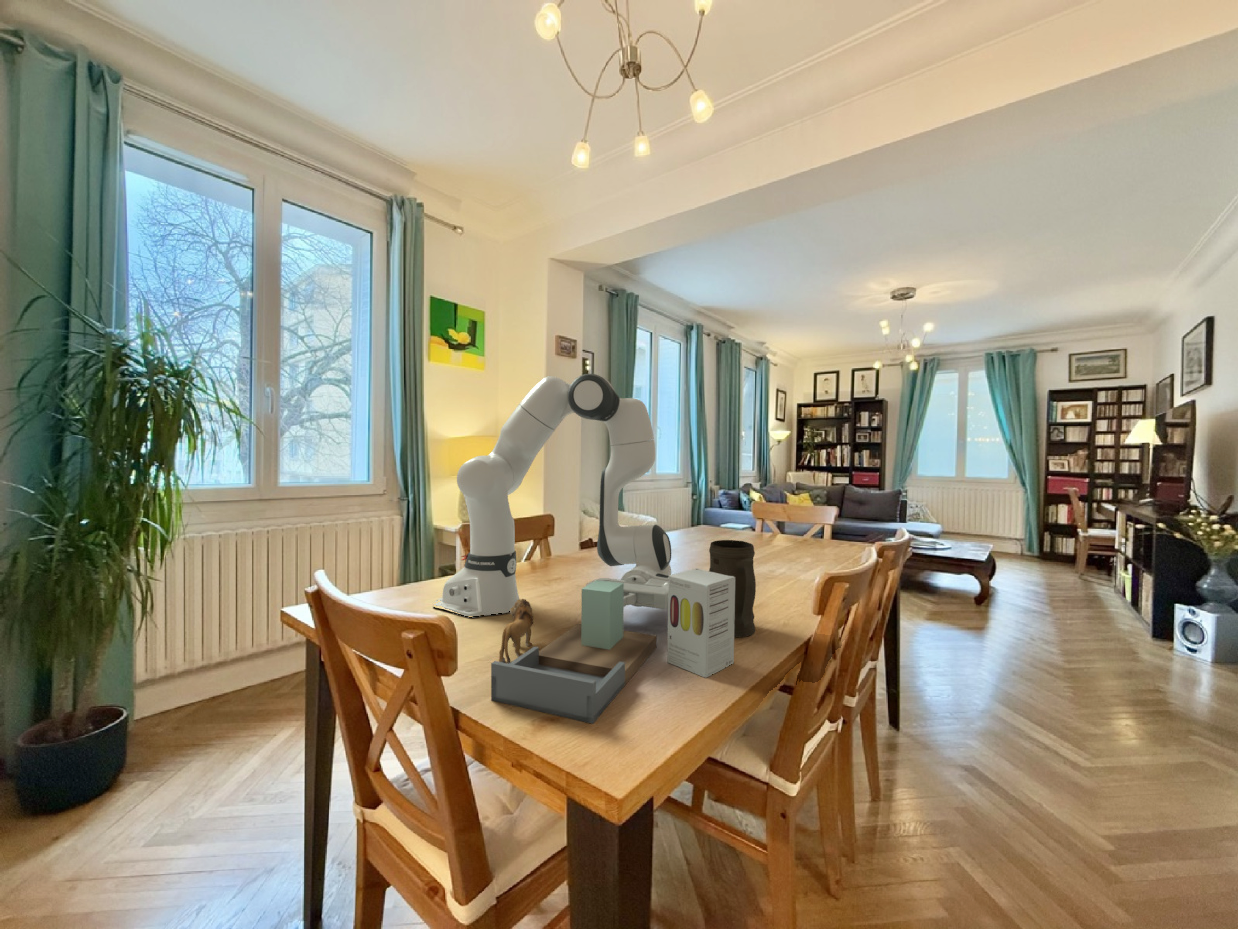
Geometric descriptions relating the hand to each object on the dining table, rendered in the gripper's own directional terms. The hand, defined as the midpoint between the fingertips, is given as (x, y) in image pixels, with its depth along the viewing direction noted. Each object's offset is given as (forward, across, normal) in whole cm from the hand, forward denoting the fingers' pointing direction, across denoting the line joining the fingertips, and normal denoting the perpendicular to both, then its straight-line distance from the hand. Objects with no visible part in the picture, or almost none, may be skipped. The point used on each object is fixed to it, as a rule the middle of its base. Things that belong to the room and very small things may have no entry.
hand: (617, 602), depth 106 cm
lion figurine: (+13, -17, +8) cm, 23 cm away
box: (+25, 0, +8) cm, 26 cm away
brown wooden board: (+10, 0, +8) cm, 12 cm away
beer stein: (-14, +23, +8) cm, 28 cm away
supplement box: (+4, +19, +8) cm, 21 cm away
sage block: (+8, 0, +6) cm, 9 cm away
